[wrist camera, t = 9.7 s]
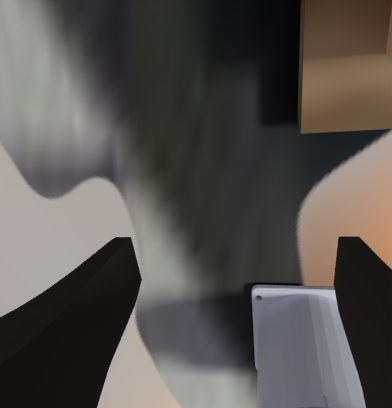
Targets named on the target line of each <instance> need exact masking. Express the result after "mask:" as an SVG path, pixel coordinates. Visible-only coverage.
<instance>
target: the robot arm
mask: <svg viewBox="0 0 392 408" xmlns="http://www.w3.org/2000/svg"><path fill="white" fill-rule="evenodd" d="M141 280H142V279H141V275H140V271H139V267H138V263H137V259H136V255H135V252H134V247H133V244H132V240H131V237H115V238H114V239H112V240H111V241H110V242H108V243H107V244H106V245H104V246H103V247H102V248H101V249H99V250H98V251H97V252H96V253H95V254H93V255H92V256H91V257H90V258H88V259H87V260H86V261H85V262H83V263H82V264H81V265H80V266H78V267H77V268H76V269H74V270H73V271H72V272H71V273H69V274H68V275H66V276H65V277H64V278H62V279H61V280H60V281H58V282H57V283H56V284H54V285H53V286H52V287H50V288H49V289H47V290H46V291H44V292H43V293H41V294H40V295H38V296H37V297H35V298H33V299H32V300H30V301H28V302H27V303H25V304H24V305H22V306H20V307H19V308H17V309H15V310H13V311H11V312H9V313H7V314H6V315H4V316H2V317H0V408H97V406H98V402H99V399H100V395H101V392H102V389H103V385H104V382H105V379H106V376H107V372H108V369H109V367H110V364H111V361H112V359H113V356H114V354H115V352H116V349H117V347H118V344H119V342H120V340H121V337H122V335H123V333H124V330H125V328H126V325H127V323H128V320H129V318H130V315H131V313H132V311H133V308H134V306H135V303H136V300H137V296H138V292H139V288H140V284H141ZM258 295H259V296H261V297H257V296H258ZM252 311H253V332H254V353H255V367H256V369H257V370H258V403H257V408H392V269H391V268H390V267H389V266H388V265H386V264H385V263H384V262H383V261H382V260H381V259H380V258H379V257H378V256H377V255H376V254H375V253H374V252H373V251H372V250H371V248H369V246H368V245H367V244H366V243H365V242H364V241H363V240H362V239H361V238H359V237H339V239H338V248H337V258H336V268H335V276H334V287H324V286H286V285H255V286H253V287H252Z"/></svg>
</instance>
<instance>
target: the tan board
mask: <svg viewBox="0 0 392 408" xmlns="http://www.w3.org/2000/svg"><path fill="white" fill-rule="evenodd" d="M391 8H392V0H301V14H300V50H299V86H298V126H299V129H300V132H301V134H303V133H321V132H339V131H357V130H375V129H392V56H390V55H388V54H386V49H387V41H388V33H389V25H390V16H391Z"/></svg>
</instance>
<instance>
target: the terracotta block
mask: <svg viewBox="0 0 392 408" xmlns="http://www.w3.org/2000/svg"><path fill="white" fill-rule="evenodd" d="M386 54H388V55H390V56H392V8H391V16H390V25H389V33H388V41H387V49H386Z"/></svg>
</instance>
